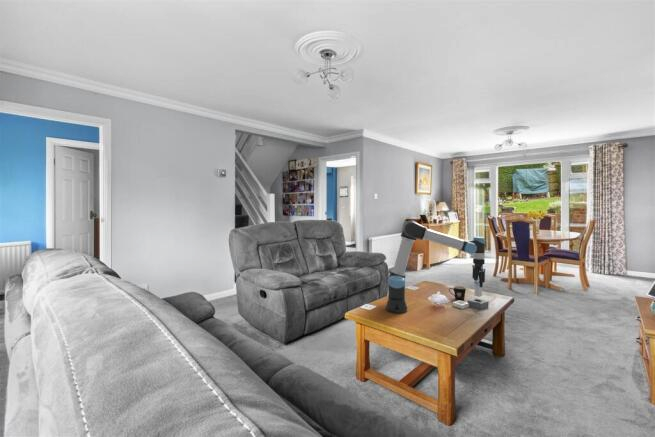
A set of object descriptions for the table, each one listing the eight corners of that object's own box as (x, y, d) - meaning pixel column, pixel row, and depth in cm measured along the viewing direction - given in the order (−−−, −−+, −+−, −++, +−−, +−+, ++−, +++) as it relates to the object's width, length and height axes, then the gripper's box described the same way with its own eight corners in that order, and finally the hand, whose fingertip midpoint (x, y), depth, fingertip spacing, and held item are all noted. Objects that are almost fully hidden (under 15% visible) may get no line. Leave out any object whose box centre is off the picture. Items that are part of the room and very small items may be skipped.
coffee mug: (467, 300, 244) (468, 287, 243) (461, 302, 239) (461, 289, 238) (454, 296, 253) (454, 284, 253) (447, 298, 248) (448, 286, 248)
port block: (467, 306, 229) (467, 299, 229) (475, 304, 235) (475, 297, 234) (480, 310, 221) (480, 303, 221) (488, 308, 226) (488, 301, 226)
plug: (474, 295, 228) (474, 282, 227) (477, 294, 230) (477, 281, 229) (479, 296, 225) (479, 283, 224) (481, 295, 227) (482, 282, 226)
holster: (452, 306, 229) (452, 302, 229) (459, 304, 234) (459, 300, 234) (462, 310, 223) (462, 305, 223) (469, 307, 227) (469, 303, 227)
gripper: (491, 260, 217) (490, 293, 218) (477, 256, 235) (476, 286, 236) (480, 260, 217) (479, 293, 218) (467, 256, 234) (467, 286, 236)
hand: (478, 290), depth 227 cm, fingers closed on plug, 5 cm apart
